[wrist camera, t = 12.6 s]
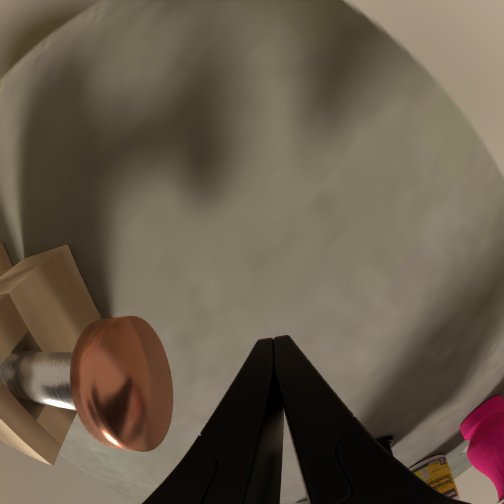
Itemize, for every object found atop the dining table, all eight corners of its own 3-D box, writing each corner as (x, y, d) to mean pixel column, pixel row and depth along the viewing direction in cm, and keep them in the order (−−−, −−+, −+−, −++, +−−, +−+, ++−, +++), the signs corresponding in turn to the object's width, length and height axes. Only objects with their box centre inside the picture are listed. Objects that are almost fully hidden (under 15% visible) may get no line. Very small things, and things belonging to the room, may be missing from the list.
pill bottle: (452, 448, 23) (475, 510, 13) (428, 468, 26) (445, 526, 15) (417, 459, 23) (438, 530, 12) (394, 478, 26) (408, 541, 15)
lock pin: (136, 289, 8) (75, 390, 4) (181, 379, 10) (159, 473, 6) (-3, 310, 9) (-50, 361, 5) (39, 374, 10) (6, 428, 7)
